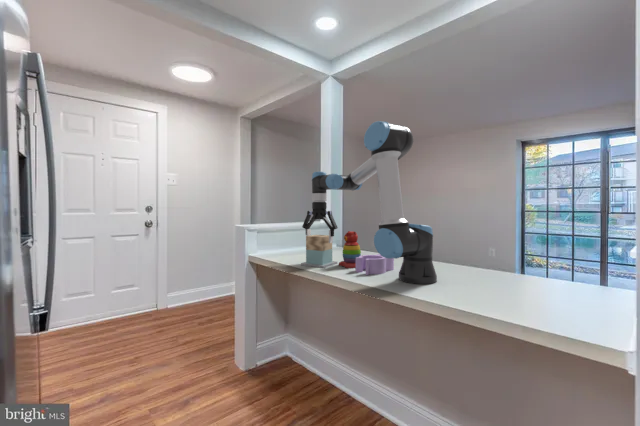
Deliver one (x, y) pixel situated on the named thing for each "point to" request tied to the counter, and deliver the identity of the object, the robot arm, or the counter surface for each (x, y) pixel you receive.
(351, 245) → the stacking bear
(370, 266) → the clip
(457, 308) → the counter surface
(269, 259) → the counter surface
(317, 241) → the oak brick
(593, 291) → the counter surface
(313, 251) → the tower base
